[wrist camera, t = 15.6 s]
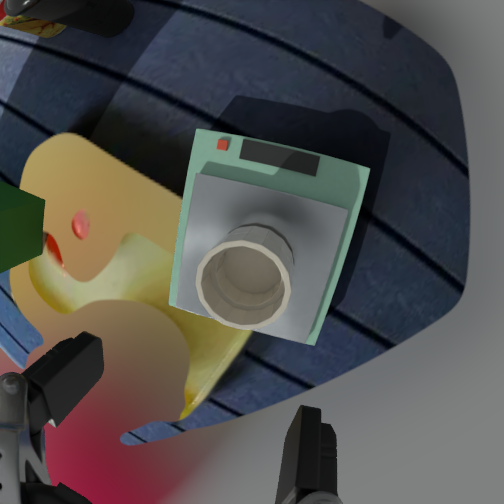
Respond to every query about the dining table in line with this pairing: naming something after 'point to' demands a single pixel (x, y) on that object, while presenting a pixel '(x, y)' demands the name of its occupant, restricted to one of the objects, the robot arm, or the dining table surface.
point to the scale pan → (278, 221)
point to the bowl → (246, 278)
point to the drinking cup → (77, 13)
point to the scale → (280, 178)
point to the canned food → (30, 24)
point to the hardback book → (19, 226)
